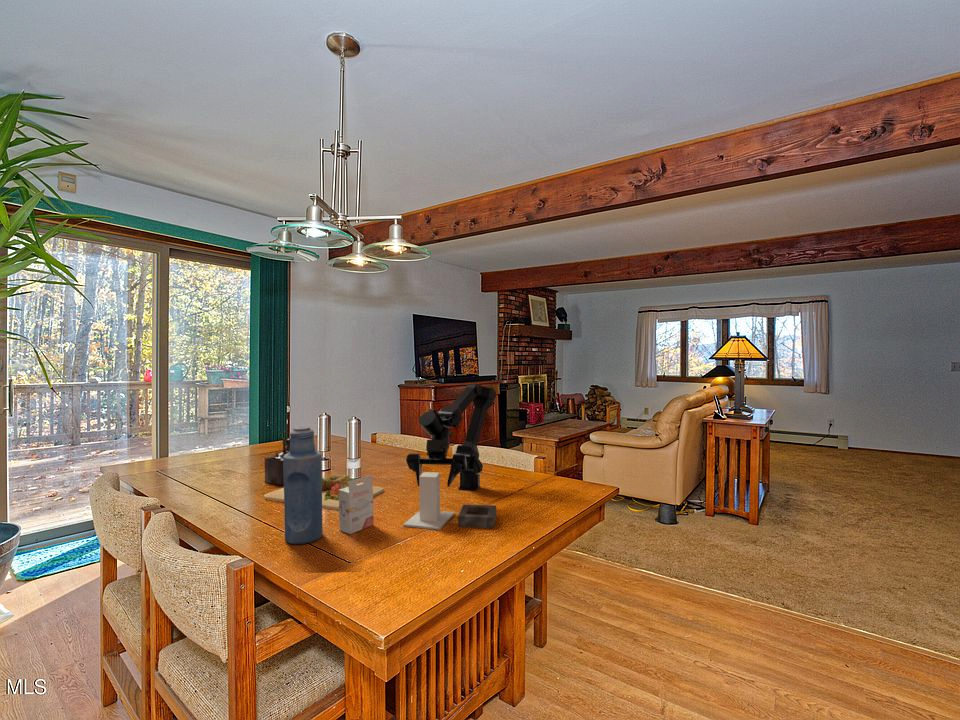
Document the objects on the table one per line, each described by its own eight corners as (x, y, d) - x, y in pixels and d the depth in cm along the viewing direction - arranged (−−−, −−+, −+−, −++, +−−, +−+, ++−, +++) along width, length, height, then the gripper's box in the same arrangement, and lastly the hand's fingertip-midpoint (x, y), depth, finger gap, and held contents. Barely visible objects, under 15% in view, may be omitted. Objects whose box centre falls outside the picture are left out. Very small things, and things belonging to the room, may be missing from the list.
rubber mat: (403, 526, 133) (403, 524, 133) (421, 511, 146) (421, 509, 146) (439, 530, 131) (439, 527, 131) (454, 514, 143) (454, 512, 143)
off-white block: (419, 520, 136) (419, 476, 136) (423, 514, 141) (423, 472, 141) (436, 521, 135) (436, 477, 135) (439, 515, 140) (439, 472, 140)
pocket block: (458, 526, 133) (458, 516, 133) (463, 514, 143) (463, 504, 143) (493, 528, 132) (493, 517, 132) (496, 515, 142) (496, 505, 142)
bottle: (327, 530, 131) (325, 424, 130) (316, 545, 121) (314, 430, 120) (292, 531, 130) (291, 424, 130) (278, 546, 120) (277, 430, 120)
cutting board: (386, 492, 168) (386, 471, 168) (345, 513, 146) (345, 489, 146) (308, 482, 180) (308, 463, 180) (260, 500, 159) (260, 479, 158)
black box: (262, 482, 178) (261, 435, 178) (286, 475, 188) (286, 431, 188) (289, 488, 171) (288, 439, 170) (313, 480, 180) (313, 434, 180)
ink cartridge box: (362, 521, 137) (362, 472, 137) (374, 525, 134) (373, 474, 134) (338, 530, 131) (337, 478, 130) (349, 534, 128) (348, 481, 127)
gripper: (407, 428, 148) (397, 472, 137) (465, 429, 146) (460, 473, 135) (413, 447, 156) (405, 490, 146) (468, 448, 154) (464, 491, 144)
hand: (433, 486), depth 142 cm, fingers open, 9 cm apart
